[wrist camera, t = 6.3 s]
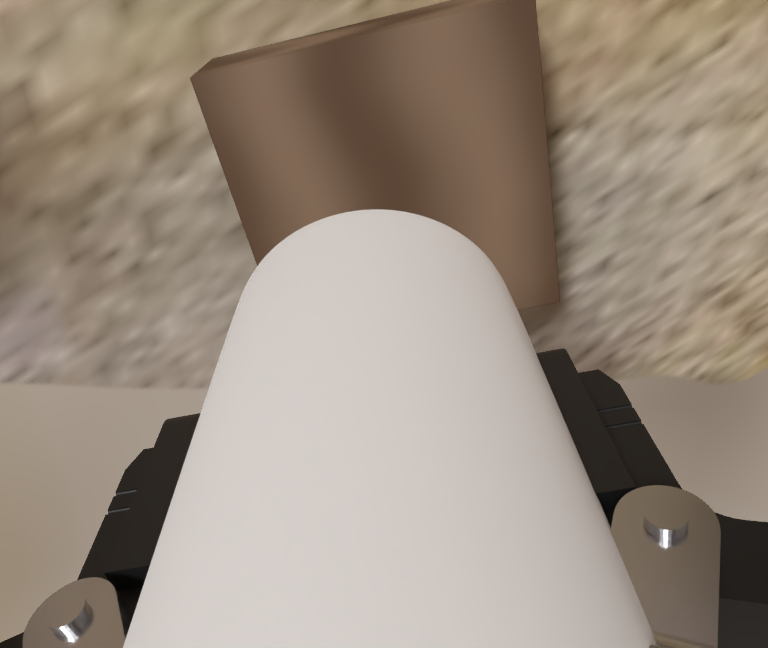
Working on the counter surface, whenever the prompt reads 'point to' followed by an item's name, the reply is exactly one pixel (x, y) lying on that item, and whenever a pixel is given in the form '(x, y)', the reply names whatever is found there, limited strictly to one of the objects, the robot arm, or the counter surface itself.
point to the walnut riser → (396, 131)
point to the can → (383, 466)
